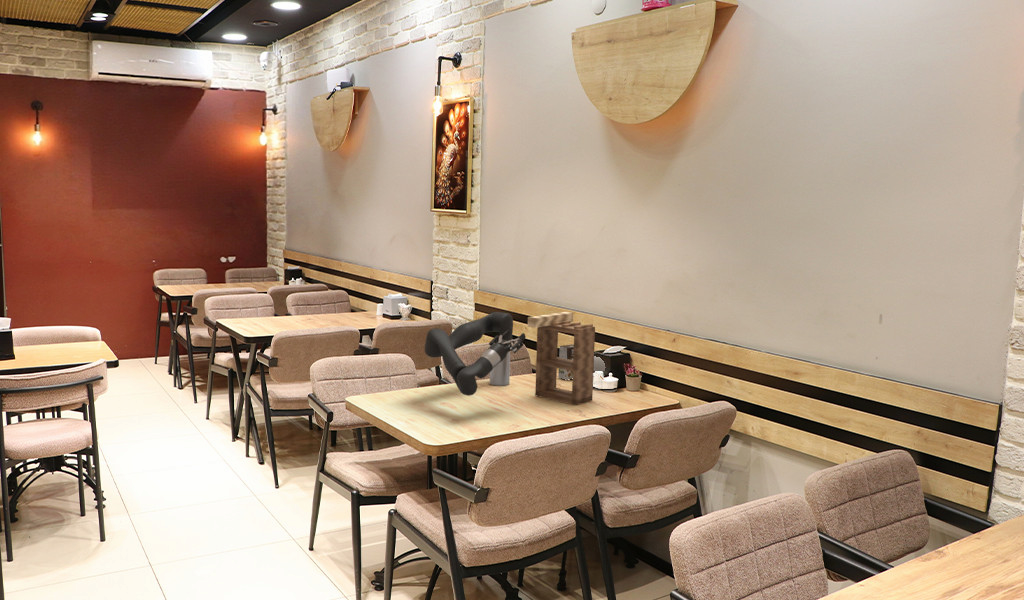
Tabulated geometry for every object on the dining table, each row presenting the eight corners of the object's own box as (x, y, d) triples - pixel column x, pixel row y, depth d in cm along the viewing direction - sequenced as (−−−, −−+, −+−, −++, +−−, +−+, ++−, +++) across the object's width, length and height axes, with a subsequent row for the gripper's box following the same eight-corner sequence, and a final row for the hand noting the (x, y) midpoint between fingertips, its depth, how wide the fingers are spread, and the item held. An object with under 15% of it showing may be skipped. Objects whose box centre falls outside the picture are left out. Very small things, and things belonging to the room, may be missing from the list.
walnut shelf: (575, 405, 332) (578, 327, 328) (535, 395, 346) (537, 321, 342) (592, 400, 341) (595, 324, 337) (552, 391, 355) (554, 318, 351)
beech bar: (534, 327, 330) (535, 318, 330) (527, 326, 333) (527, 317, 333) (572, 321, 350) (573, 312, 349) (565, 320, 352) (566, 311, 352)
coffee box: (567, 381, 376) (568, 347, 374) (557, 378, 381) (559, 345, 379) (580, 378, 382) (582, 345, 380) (571, 376, 387) (572, 343, 385)
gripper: (502, 352, 310) (527, 328, 320) (476, 347, 320) (501, 324, 329) (508, 367, 314) (532, 343, 323) (483, 361, 323) (506, 338, 333)
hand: (516, 333), depth 326 cm, fingers open, 8 cm apart
